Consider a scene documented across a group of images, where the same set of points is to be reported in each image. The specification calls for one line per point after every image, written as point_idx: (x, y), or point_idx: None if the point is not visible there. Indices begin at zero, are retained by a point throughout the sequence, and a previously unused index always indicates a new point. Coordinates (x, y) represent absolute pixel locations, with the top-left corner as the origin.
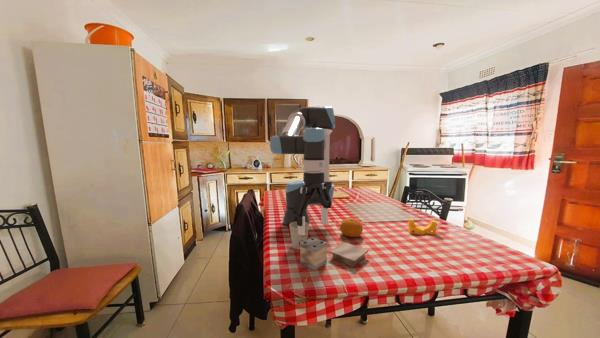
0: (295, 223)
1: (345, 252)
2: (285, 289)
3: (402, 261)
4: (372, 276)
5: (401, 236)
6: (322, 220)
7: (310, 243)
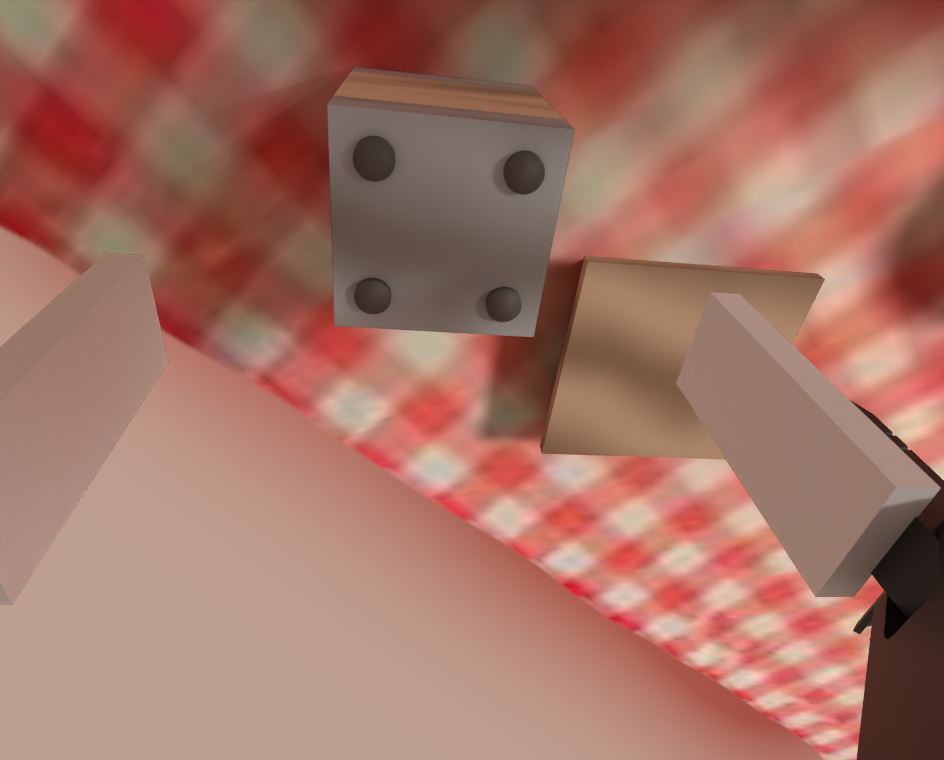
0: None
1: (628, 369)
2: (11, 207)
3: (732, 545)
4: (514, 499)
5: None
6: (726, 346)
7: (403, 219)
